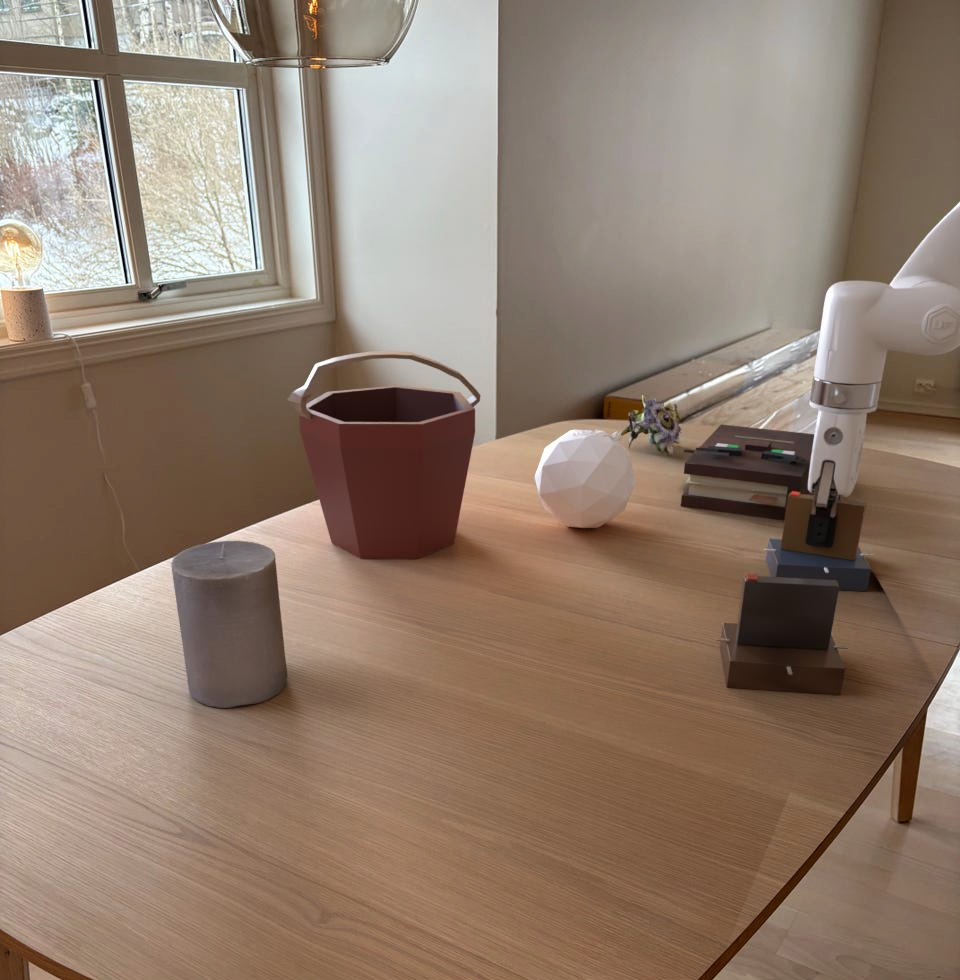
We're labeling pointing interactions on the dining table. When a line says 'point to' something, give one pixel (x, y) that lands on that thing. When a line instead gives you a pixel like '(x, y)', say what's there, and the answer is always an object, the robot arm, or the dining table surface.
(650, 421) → the passion flower
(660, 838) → the dining table surface
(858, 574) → the stand far
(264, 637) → the pillar candle
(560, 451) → the geodesic sphere
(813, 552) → the frame far
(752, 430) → the decorative book
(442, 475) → the bucket
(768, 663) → the stand near
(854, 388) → the robot arm
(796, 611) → the frame near
